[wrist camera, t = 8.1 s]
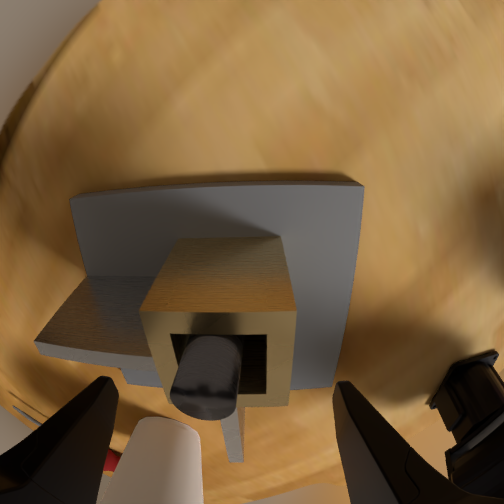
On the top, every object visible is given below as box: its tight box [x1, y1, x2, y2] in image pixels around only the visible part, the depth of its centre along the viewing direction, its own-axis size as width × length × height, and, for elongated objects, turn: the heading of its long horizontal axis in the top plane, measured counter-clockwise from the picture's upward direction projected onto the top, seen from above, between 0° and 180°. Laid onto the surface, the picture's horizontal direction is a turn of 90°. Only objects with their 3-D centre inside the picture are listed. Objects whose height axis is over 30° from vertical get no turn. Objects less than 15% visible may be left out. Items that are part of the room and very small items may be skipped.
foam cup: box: [100, 417, 204, 504], centre depth 18 cm, size 10×9×13 cm
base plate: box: [69, 181, 364, 390], centre depth 17 cm, size 15×14×1 cm
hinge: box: [34, 236, 297, 462], centre depth 14 cm, size 11×11×6 cm
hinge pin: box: [170, 334, 245, 420], centre depth 12 cm, size 2×2×8 cm
